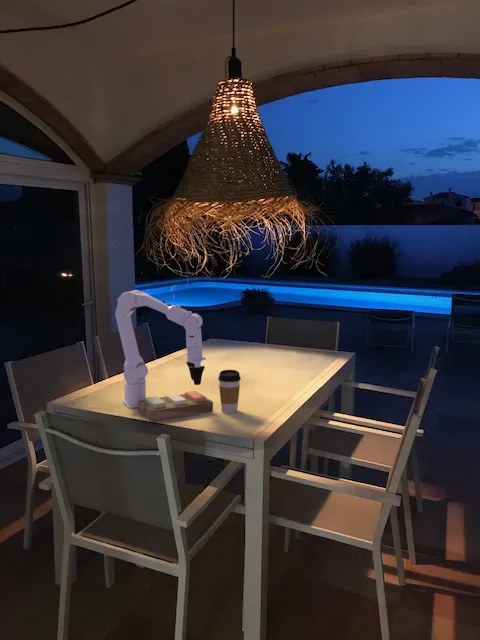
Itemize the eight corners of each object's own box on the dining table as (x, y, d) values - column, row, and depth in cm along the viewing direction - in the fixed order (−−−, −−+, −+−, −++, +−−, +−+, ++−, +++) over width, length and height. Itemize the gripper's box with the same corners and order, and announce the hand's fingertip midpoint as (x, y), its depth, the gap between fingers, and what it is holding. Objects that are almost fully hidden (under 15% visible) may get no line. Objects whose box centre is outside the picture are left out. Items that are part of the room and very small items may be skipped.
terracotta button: (185, 402, 206) (184, 392, 205) (195, 400, 208) (195, 390, 207) (194, 408, 198) (194, 398, 197) (205, 407, 200) (205, 396, 199)
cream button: (165, 405, 202) (165, 394, 201) (176, 403, 204) (176, 393, 203) (174, 411, 194) (174, 401, 193) (186, 410, 196) (186, 399, 196)
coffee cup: (240, 407, 205) (240, 369, 202) (240, 414, 196) (241, 375, 194) (218, 407, 204) (218, 369, 202) (217, 414, 196) (217, 375, 194)
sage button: (145, 408, 198) (145, 397, 197) (156, 406, 200) (156, 396, 199) (154, 415, 190) (153, 404, 189) (165, 413, 192) (165, 402, 192)
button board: (138, 410, 199) (138, 400, 199) (196, 402, 211) (196, 392, 210) (151, 422, 187) (151, 411, 187) (212, 412, 199) (213, 401, 198)
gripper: (208, 349, 193) (209, 385, 195) (201, 342, 207) (203, 376, 209) (188, 350, 191) (190, 387, 193) (183, 343, 205) (185, 378, 207)
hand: (196, 382), depth 201 cm, fingers open, 7 cm apart
